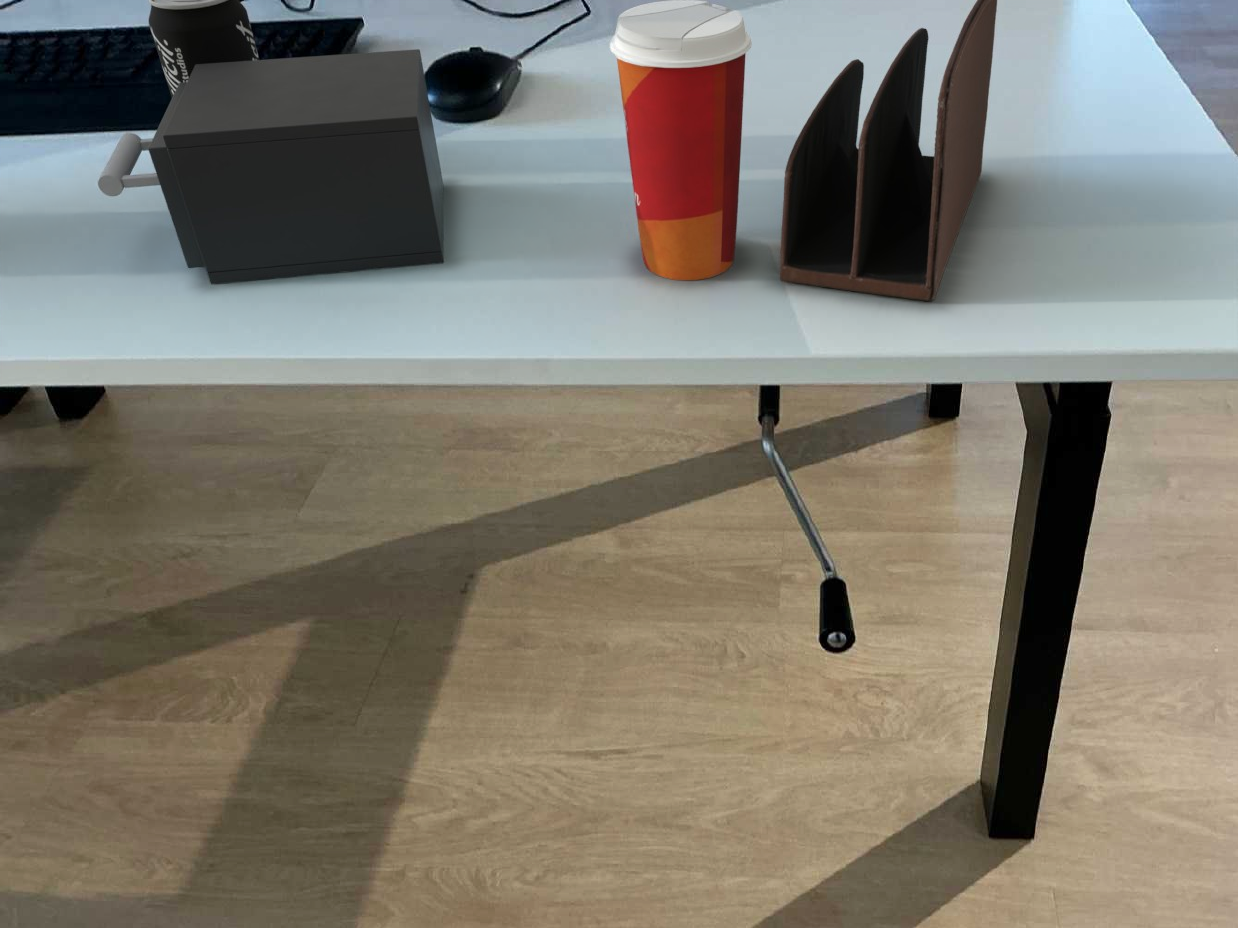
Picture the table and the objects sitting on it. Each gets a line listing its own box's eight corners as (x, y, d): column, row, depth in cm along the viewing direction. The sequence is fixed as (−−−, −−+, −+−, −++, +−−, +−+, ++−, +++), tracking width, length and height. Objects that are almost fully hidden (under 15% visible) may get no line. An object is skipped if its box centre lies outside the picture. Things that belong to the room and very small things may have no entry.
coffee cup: (692, 220, 83) (684, -12, 73) (777, 258, 78) (781, 17, 69) (598, 259, 78) (576, 18, 69) (683, 303, 74) (672, 52, 64)
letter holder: (981, 177, 88) (1007, -30, 79) (933, 305, 73) (960, 70, 64) (847, 162, 90) (858, -41, 81) (776, 284, 76) (780, 53, 66)
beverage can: (268, 178, 89) (222, 6, 81) (180, 178, 89) (125, 7, 81) (294, 143, 94) (253, -21, 86) (211, 143, 94) (162, -21, 86)
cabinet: (210, 284, 76) (162, 135, 70) (235, 201, 86) (195, 64, 79) (443, 263, 78) (417, 116, 72) (443, 184, 88) (419, 48, 81)
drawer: (118, 275, 75) (72, 154, 70) (150, 199, 84) (112, 86, 79) (405, 249, 78) (381, 130, 73) (408, 178, 86) (387, 67, 81)
